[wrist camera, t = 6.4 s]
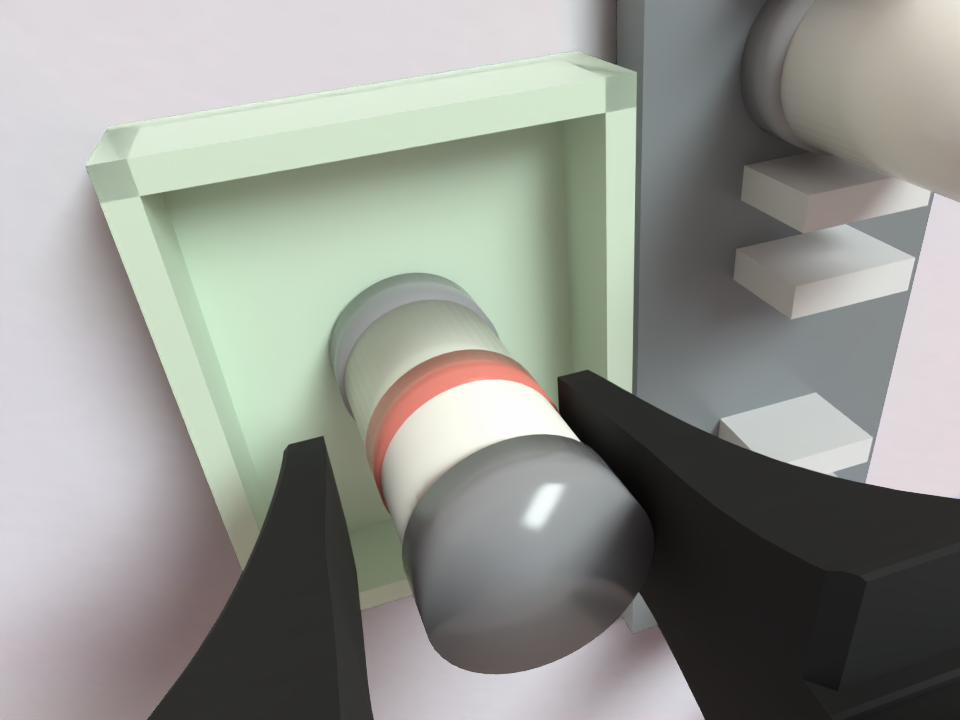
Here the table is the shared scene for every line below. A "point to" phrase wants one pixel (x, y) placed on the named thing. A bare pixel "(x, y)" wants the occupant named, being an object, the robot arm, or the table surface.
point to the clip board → (756, 257)
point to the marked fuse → (484, 482)
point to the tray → (370, 254)
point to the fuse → (861, 83)
